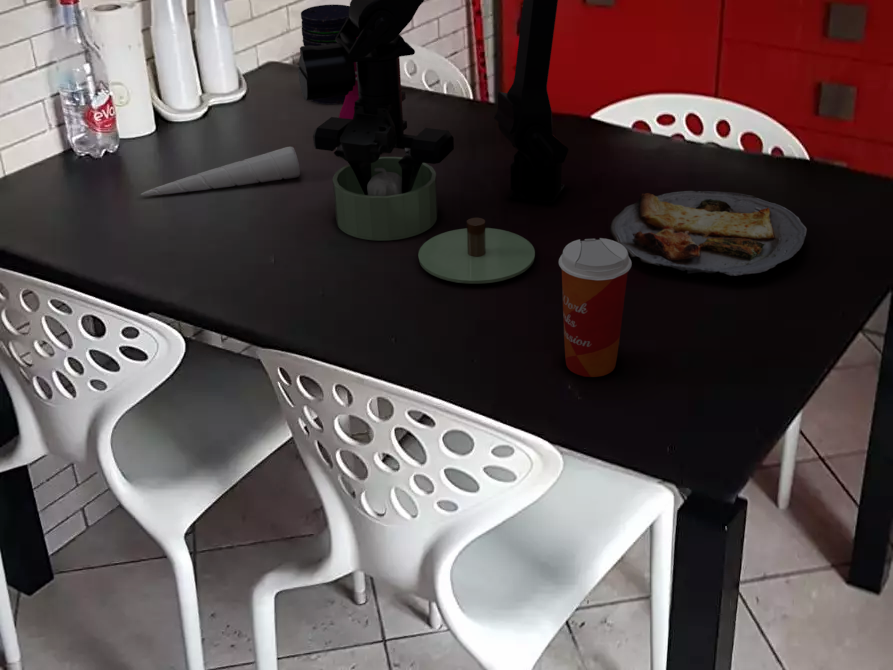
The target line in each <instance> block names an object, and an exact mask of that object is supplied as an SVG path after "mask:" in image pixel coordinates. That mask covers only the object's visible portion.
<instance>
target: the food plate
mask: <svg viewBox="0 0 893 670" xmlns="http://www.w3.org/2000/svg"><path fill="white" fill-rule="evenodd" d="M609 225H610V226H609V232H610V234H611V236H612V238H613V239H614V241H616V242H618V243H620V244H622V245H623V246H624V247H625V248H626V250H627V252H628V256H629V257H630V258H635V257H638V258H639V261H641V262H642V263H644V264H652V265H655V266H658V267H661V266H663V267H670V268H673V269H676V270H678V271H681V272H684V271H686V274H687V275H688V274H699V273H706V274H716V273H717V272H719V274H725V275H727V276H730V277H732V276H734V277H735V276H736V277H738V276H742V275H751V274H761V273H764V272H767V271H769V270H770V269H773V268H775V267H776V266H777V265H778V264H782V263H783V262H786V261H788V260H790V259H791V258H792V257H794V256H795V255H796V254H797V253H798V252H799V251H801V249H802V248H803V245H804V243H805V239H806V236H807V231H808V228H807V227H806V225H805V224H804V223H803V222H802V221H801V219H800V217H799V216H797V215H796V214H795V213H794V212H793V211H791V210H789V209H788V208H786V207H785V206H782V205H780V204H777V203H775V202H769V201H768V200H764V199H761V198H759V197H756V196H754V195H751V194H745V193H739V192H731V191H729V192H727V191H713V190H710V191H709V190H697V191H695V190H684V191H683V190H682V191H673V192H666V193H665V192H664V193H662V194H658V195H654V194H652V193H651V192H646V193H641V194H640V196H639V198H638V200H637V201H636V202H634V203H631V204H629V205H627V206H624V208H623V209H622V210H620V211H619V212H618V214H616V216H614V217H613V218H612V220H611V223H610V224H609Z"/></svg>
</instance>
